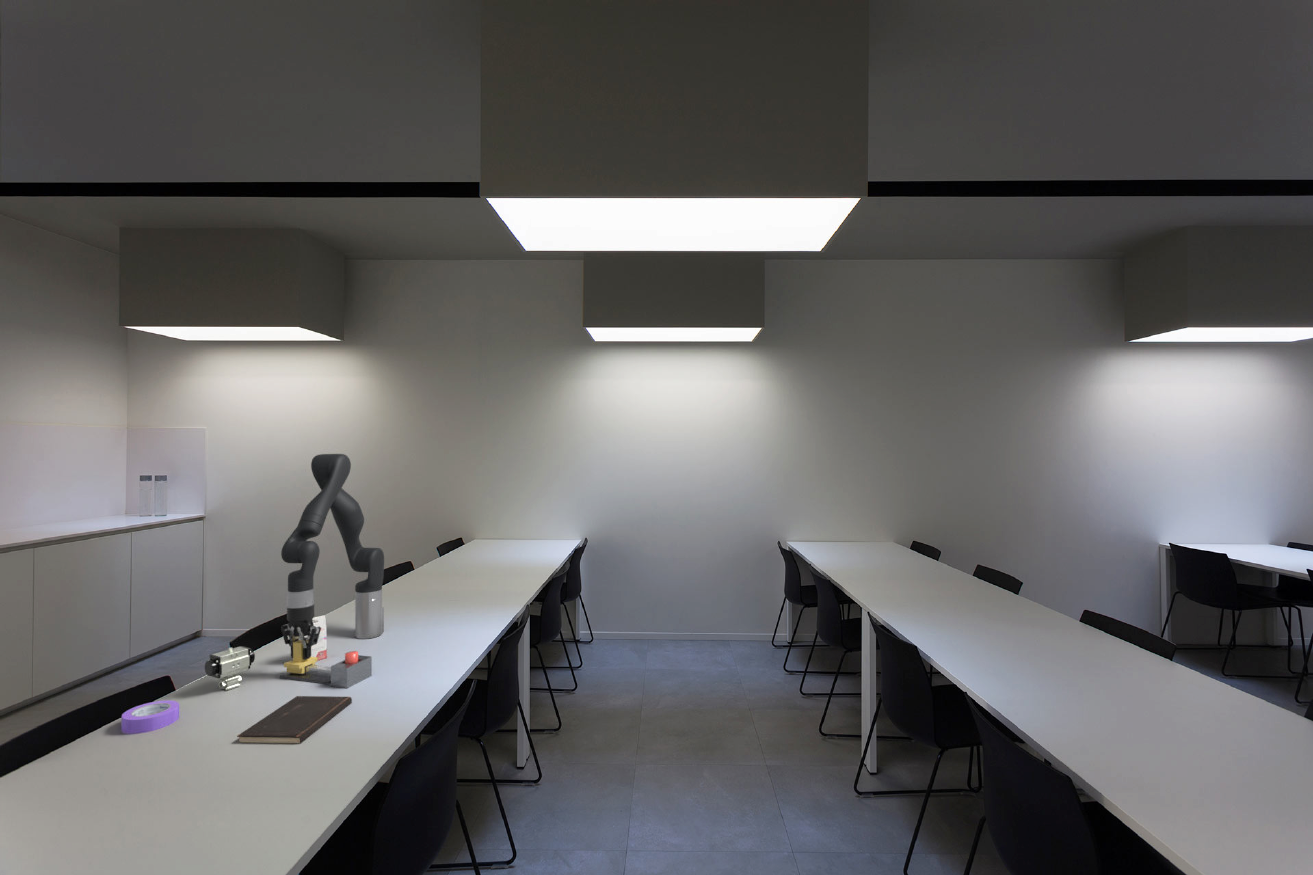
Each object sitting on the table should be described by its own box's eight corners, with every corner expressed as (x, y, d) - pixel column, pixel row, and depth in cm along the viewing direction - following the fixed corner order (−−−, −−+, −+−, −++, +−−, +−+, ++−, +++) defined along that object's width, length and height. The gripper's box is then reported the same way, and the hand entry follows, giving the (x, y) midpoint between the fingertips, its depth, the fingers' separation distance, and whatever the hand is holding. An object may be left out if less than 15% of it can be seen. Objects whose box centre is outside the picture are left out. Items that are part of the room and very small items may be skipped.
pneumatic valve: (204, 693, 178) (204, 652, 178) (246, 679, 188) (246, 640, 188) (214, 697, 175) (214, 655, 175) (256, 682, 186) (256, 643, 186)
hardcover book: (237, 744, 149) (237, 735, 149) (296, 703, 172) (296, 695, 172) (300, 745, 148) (300, 736, 148) (352, 704, 171) (352, 696, 171)
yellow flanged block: (302, 665, 196) (302, 636, 196) (317, 666, 195) (317, 638, 195) (283, 673, 190) (283, 643, 190) (299, 675, 188) (299, 645, 188)
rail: (301, 668, 197) (301, 659, 197) (349, 674, 192) (349, 664, 192) (280, 677, 189) (279, 668, 189) (329, 684, 184) (329, 674, 184)
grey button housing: (355, 673, 192) (355, 654, 192) (371, 675, 191) (371, 656, 191) (330, 686, 183) (330, 666, 183) (347, 688, 181) (347, 668, 181)
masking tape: (186, 710, 167) (186, 697, 167) (169, 729, 156) (169, 714, 156) (133, 718, 163) (133, 703, 163) (112, 738, 152) (112, 722, 152)
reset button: (351, 666, 189) (351, 650, 189) (360, 667, 188) (360, 651, 188) (342, 670, 185) (342, 654, 186) (352, 672, 184) (352, 655, 185)
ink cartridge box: (320, 655, 210) (320, 612, 210) (327, 658, 207) (327, 614, 207) (293, 662, 203) (293, 618, 203) (300, 665, 200) (300, 620, 200)
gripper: (328, 602, 194) (328, 656, 194) (293, 599, 198) (293, 652, 198) (309, 608, 187) (309, 664, 187) (272, 605, 191) (272, 660, 190)
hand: (300, 657), depth 192 cm, fingers open, 4 cm apart
